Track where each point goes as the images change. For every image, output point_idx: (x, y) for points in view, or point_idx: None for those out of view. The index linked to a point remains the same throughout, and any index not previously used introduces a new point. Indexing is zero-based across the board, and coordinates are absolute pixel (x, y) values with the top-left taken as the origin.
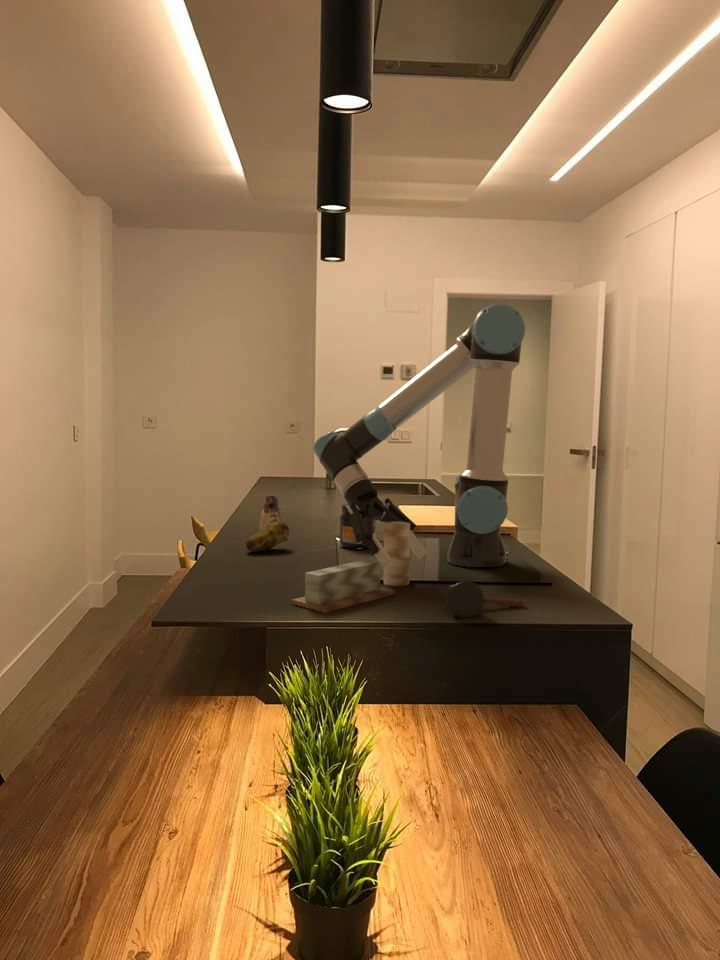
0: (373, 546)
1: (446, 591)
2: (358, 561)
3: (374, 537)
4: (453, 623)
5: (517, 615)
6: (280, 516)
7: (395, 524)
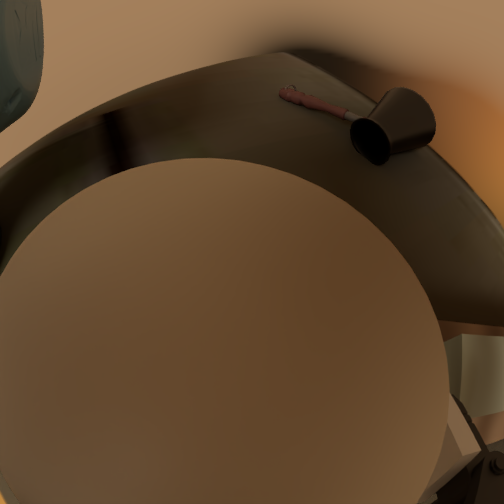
0: (469, 416)
1: (390, 146)
2: (495, 408)
3: (478, 448)
4: (431, 148)
5: (332, 97)
6: None
7: (306, 363)
